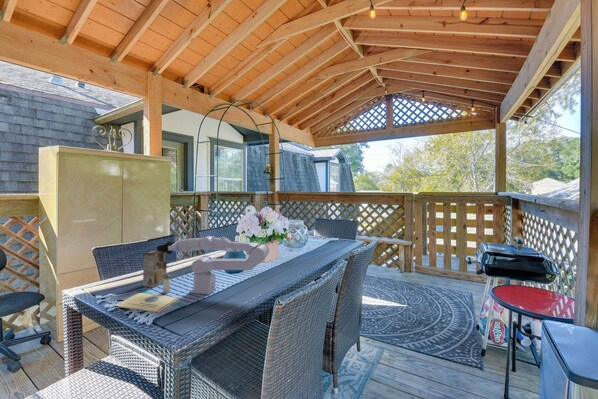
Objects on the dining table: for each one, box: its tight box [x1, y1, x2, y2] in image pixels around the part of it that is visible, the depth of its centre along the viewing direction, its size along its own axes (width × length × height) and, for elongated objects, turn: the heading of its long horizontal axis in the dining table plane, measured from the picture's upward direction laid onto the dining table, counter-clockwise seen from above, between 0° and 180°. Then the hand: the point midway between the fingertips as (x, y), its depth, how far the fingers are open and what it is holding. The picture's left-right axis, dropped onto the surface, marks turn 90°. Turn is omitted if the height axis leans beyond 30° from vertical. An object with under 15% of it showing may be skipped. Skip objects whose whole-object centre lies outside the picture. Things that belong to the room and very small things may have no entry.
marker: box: [162, 273, 172, 294], centre depth 132 cm, size 3×3×8 cm
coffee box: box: [142, 249, 168, 288], centre depth 141 cm, size 9×6×16 cm
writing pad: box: [113, 292, 181, 313], centre depth 120 cm, size 20×14×1 cm
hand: (162, 247), depth 137 cm, fingers open, 7 cm apart
